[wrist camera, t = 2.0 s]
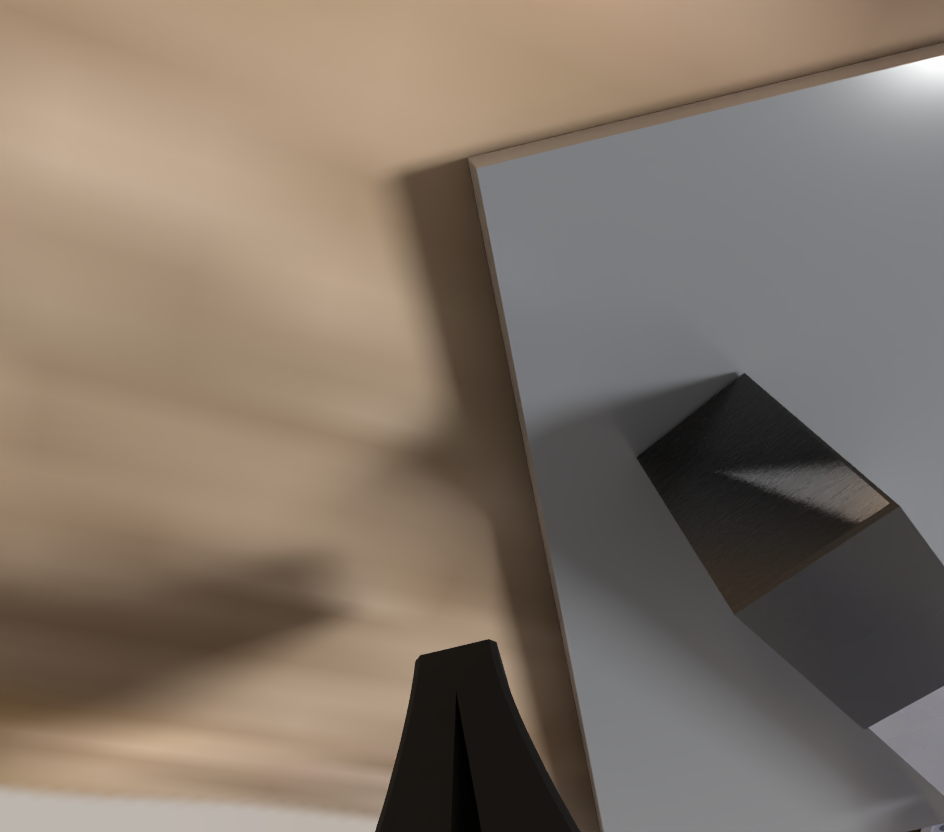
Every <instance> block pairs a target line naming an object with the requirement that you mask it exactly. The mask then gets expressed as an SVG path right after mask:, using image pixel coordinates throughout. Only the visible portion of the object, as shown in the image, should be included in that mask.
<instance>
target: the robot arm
mask: <svg viewBox="0 0 944 832" xmlns="http://www.w3.org/2000/svg"><path fill="white" fill-rule="evenodd" d="M375 832H580V830H579V829H578V827H577V825H576V824H575V822H574V820H573V818H572V816H571V815H570V813H569V811H568V809H567V808H566V806H565V804H564V802H563V800H562V799H561V797H560V795H559V793H558V791H557V790H556V788H555V786H554V784H553V782H552V780H551V778H550V776H549V774H548V773H547V771H546V769H545V767H544V765H543V763H542V761H541V759H540V756H539V754H538V752H537V750H536V748H535V746H534V744H533V742H532V740H531V738H530V736H529V734H528V732H527V730H526V728H525V725H524V723H523V721H522V719H521V716H520V714H519V712H518V709H517V707H516V704H515V702H514V699H513V697H512V695H511V692H510V688H509V685H508V681H507V678H506V674H505V671H504V667H503V664H502V660H501V657H500V653H499V650H498V646H497V643H496V642H494V641H492V640H490V639H488V640H484V641H479V642H475V643H471V644H467V645H462V646H458V647H454V648H450V649H446V650H441V651H437V652H433V653H429V654H424V655H420V656H419V658H418V659H417V660H416V662H415V669H414V677H413V683H412V689H411V695H410V700H409V705H408V710H407V715H406V719H405V724H404V728H403V732H402V737H401V741H400V745H399V749H398V753H397V757H396V761H395V764H394V768H393V772H392V776H391V780H390V783H389V787H388V791H387V795H386V798H385V802H384V805H383V808H382V812H381V815H380V818H379V821H378V824H377V827H376V831H375ZM920 832H944V823H943V824H939V825H935V826H930V827H926V828H921V831H920Z"/></svg>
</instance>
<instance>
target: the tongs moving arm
mask: <svg viewBox="0 0 944 832" xmlns="http://www.w3.org/2000/svg"><path fill="white" fill-rule="evenodd" d="M636 458H637V460H638V461H639V463H640V465H641V466H642V468H643V469H644V471H645V473H646V474H647V476H648V477H649V479H650V481H651V482H652V484H653V485H654V487H655V489H656V490H657V492H658V493H659V495H660V497H661V498H662V500H663V501H664V503H665V505H666V506H667V508H668V509H669V511H670V513H671V514H672V516H673V517H674V519H675V521H676V522H677V524H678V525H679V527H680V529H681V530H682V532H683V533H684V535H685V537H686V538H687V540H688V541H689V543H690V545H691V546H692V548H693V549H694V551H695V553H696V554H697V556H698V557H699V559H700V561H701V562H702V564H703V565H704V567H705V569H706V570H707V572H708V573H709V575H710V577H711V578H712V580H713V581H714V583H715V585H716V586H717V588H718V589H719V591H720V593H721V594H722V596H723V597H724V599H725V601H726V602H727V604H728V605H729V607H730V609H731V610H732V612H733V613H734V615H735V616H736V617H737V618H739V619H740V620H741V621H742V622H743V623H744V624H745V625H746V626H748V627H749V628H750V629H751V630H752V631H753V632H754V633H755V634H757V635H758V636H759V637H760V638H761V639H762V640H763V641H764V642H766V643H767V644H768V645H769V646H770V647H771V648H772V649H773V650H775V651H776V652H777V653H778V654H779V655H780V656H781V657H782V658H784V659H785V660H786V661H787V662H788V663H789V664H790V665H791V666H793V667H794V668H795V669H796V670H797V671H798V672H799V673H800V674H802V675H803V676H804V677H805V678H806V679H807V680H808V681H809V682H811V683H812V684H813V685H814V686H815V687H816V688H817V689H818V690H820V691H821V692H822V693H823V694H824V695H825V696H826V697H827V698H829V699H830V700H831V701H832V702H833V703H834V704H835V705H836V706H838V707H839V708H840V709H841V710H842V711H843V712H844V713H845V714H846V715H848V716H849V717H850V718H851V719H852V720H853V721H854V722H855V723H857V724H858V725H859V726H860V727H861V728H862V729H863V730H865V729H867V728H869V729H870V730H872V731H873V732H874V733H875V734H876V735H877V736H878V737H879V738H880V739H882V740H883V741H884V742H885V743H886V744H887V745H888V746H889V747H890V748H891V749H893V750H894V751H895V752H896V753H897V754H898V755H899V756H900V757H901V758H903V759H904V760H905V761H906V762H907V763H908V764H909V765H910V766H911V767H913V768H914V769H915V770H916V771H917V772H918V773H919V774H920V775H921V776H923V777H924V778H925V779H926V780H927V781H928V782H929V783H930V784H931V785H933V786H934V787H935V788H936V789H937V790H938V791H939V792H940V793H941V794H943V795H944V565H943V564H942V562H941V561H940V560H939V558H938V557H937V556H936V554H935V553H934V552H933V550H932V549H931V547H930V546H929V545H928V543H927V542H926V541H925V539H924V538H923V537H922V535H921V534H920V533H919V531H918V530H917V528H916V527H915V526H914V524H913V523H912V522H911V520H910V519H909V518H908V516H907V515H906V513H905V512H904V511H903V509H902V508H901V507H900V506H899V505H898V504H897V503H896V502H895V501H894V500H892V499H891V498H890V497H889V496H888V495H887V494H885V493H884V492H883V491H882V490H881V489H880V488H878V487H877V486H876V485H875V484H874V483H873V482H871V481H870V480H869V479H868V478H867V477H866V476H864V475H863V474H862V473H861V472H860V471H859V470H857V469H856V468H855V467H854V466H853V465H852V464H850V463H849V462H848V461H847V460H846V459H844V458H843V457H842V456H841V455H840V454H839V453H837V452H836V451H835V450H834V449H833V448H832V447H830V446H829V445H828V444H827V443H826V442H825V441H823V440H822V439H821V438H820V437H819V436H818V435H816V434H815V433H814V432H813V431H812V430H811V429H809V428H808V427H807V426H806V425H805V424H804V423H802V422H801V421H800V420H799V419H798V418H797V417H795V416H794V415H793V414H792V413H791V412H790V411H788V410H787V409H786V408H785V407H784V406H783V405H781V404H780V403H779V402H778V401H777V400H776V399H774V398H773V397H772V396H771V395H770V394H769V393H767V392H766V391H765V390H764V389H763V388H762V387H760V386H759V385H758V384H757V383H756V382H755V381H753V380H752V379H751V378H750V377H749V376H748V375H746V374H745V373H743V374H742V375H741V376H740V377H738V378H737V379H736V380H734V381H733V382H732V383H731V384H729V385H728V386H727V387H726V388H724V389H723V390H722V391H720V392H719V393H718V394H717V395H715V396H714V397H713V398H712V399H710V400H709V401H708V402H706V403H705V404H704V405H703V406H701V407H700V408H699V409H697V410H696V411H695V412H694V413H692V414H691V415H690V416H689V417H687V418H686V419H685V420H683V421H682V422H681V423H680V424H678V425H677V426H676V427H675V428H673V429H672V430H671V431H669V432H668V433H667V434H666V435H664V436H663V437H662V438H661V439H659V440H658V441H657V442H655V443H654V444H653V445H652V446H650V447H649V448H648V449H646V450H645V451H644V452H643V453H641V454H640V455H639V456H638V457H636Z"/></svg>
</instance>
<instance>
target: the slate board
mask: <svg viewBox="0 0 944 832" xmlns="http://www.w3.org/2000/svg"><path fill="white" fill-rule="evenodd" d="M468 163H469V168H470V173H471V178H472V183H473V189H474V194H475V199H476V204H477V209H478V214H479V219H480V224H481V229H482V234H483V239H484V244H485V249H486V254H487V259H488V265H489V270H490V275H491V280H492V285H493V290H494V295H495V300H496V305H497V310H498V315H499V320H500V325H501V330H502V335H503V340H504V346H505V351H506V356H507V361H508V366H509V371H510V376H511V381H512V386H513V391H514V396H515V401H516V406H517V411H518V416H519V422H520V427H521V432H522V437H523V442H524V447H525V452H526V457H527V462H528V467H529V472H530V477H531V482H532V487H533V492H534V498H535V503H536V508H537V513H538V518H539V523H540V528H541V533H542V538H543V543H544V548H545V553H546V558H547V563H548V568H549V573H550V579H551V584H552V589H553V594H554V599H555V604H556V609H557V614H558V619H559V624H560V629H561V634H562V639H563V644H564V649H565V655H566V660H567V665H568V670H569V675H570V680H571V685H572V690H573V695H574V700H575V705H576V710H577V715H578V720H579V725H580V730H581V736H582V741H583V746H584V751H585V756H586V761H587V766H588V771H589V776H590V781H591V786H592V791H593V796H594V801H595V806H596V812H597V817H598V822H599V827H600V832H908V831H913V830H917V829H921V828H926V827H930V826H935V825H939V824H943V823H944V795H943V794H941V793H940V792H939V791H938V790H937V789H936V788H935V787H934V786H933V785H931V784H930V783H929V782H928V781H927V780H926V779H925V778H924V777H923V776H921V775H920V774H919V773H918V772H917V771H916V770H915V769H914V768H913V767H911V766H910V765H909V764H908V763H907V762H906V761H905V760H904V759H903V758H901V757H900V756H899V755H898V754H897V753H896V752H895V751H894V750H893V749H891V748H890V747H889V746H888V745H887V744H886V743H885V742H884V741H883V740H882V739H880V738H879V737H878V736H877V735H876V734H875V733H874V732H873V731H872V730H870V729H869V728H867V729H865V730H863V729H862V728H861V727H860V726H859V725H858V724H857V723H855V722H854V721H853V720H852V719H851V718H850V717H849V716H848V715H846V714H845V713H844V712H843V711H842V710H841V709H840V708H839V707H838V706H836V705H835V704H834V703H833V702H832V701H831V700H830V699H829V698H827V697H826V696H825V695H824V694H823V693H822V692H821V691H820V690H818V689H817V688H816V687H815V686H814V685H813V684H812V683H811V682H809V681H808V680H807V679H806V678H805V677H804V676H803V675H802V674H800V673H799V672H798V671H797V670H796V669H795V668H794V667H793V666H791V665H790V664H789V663H788V662H787V661H786V660H785V659H784V658H782V657H781V656H780V655H779V654H778V653H777V652H776V651H775V650H773V649H772V648H771V647H770V646H769V645H768V644H767V643H766V642H764V641H763V640H762V639H761V638H760V637H759V636H758V635H757V634H755V633H754V632H753V631H752V630H751V629H750V628H749V627H748V626H746V625H745V624H744V623H743V622H742V621H741V620H740V619H739V618H737V617H736V616H735V615H734V613H733V612H732V610H731V609H730V607H729V605H728V604H727V602H726V601H725V599H724V597H723V596H722V594H721V593H720V591H719V589H718V588H717V586H716V585H715V583H714V581H713V580H712V578H711V577H710V575H709V573H708V572H707V570H706V569H705V567H704V565H703V564H702V562H701V561H700V559H699V557H698V556H697V554H696V553H695V551H694V549H693V548H692V546H691V545H690V543H689V541H688V540H687V538H686V537H685V535H684V533H683V532H682V530H681V529H680V527H679V525H678V524H677V522H676V521H675V519H674V517H673V516H672V514H671V513H670V511H669V509H668V508H667V506H666V505H665V503H664V501H663V500H662V498H661V497H660V495H659V493H658V492H657V490H656V489H655V487H654V485H653V484H652V482H651V481H650V479H649V477H648V476H647V474H646V473H645V471H644V469H643V468H642V466H641V465H640V463H639V461H638V460H637V458H636V457H638V456H639V455H640V454H641V453H643V452H644V451H645V450H646V449H648V448H649V447H650V446H652V445H653V444H654V443H655V442H657V441H658V440H659V439H661V438H662V437H663V436H664V435H666V434H667V433H668V432H669V431H671V430H672V429H673V428H675V427H676V426H677V425H678V424H680V423H681V422H682V421H683V420H685V419H686V418H687V417H689V416H690V415H691V414H692V413H694V412H695V411H696V410H697V409H699V408H700V407H701V406H703V405H704V404H705V403H706V402H708V401H709V400H710V399H712V398H713V397H714V396H715V395H717V394H718V393H719V392H720V391H722V390H723V389H724V388H726V387H727V386H728V385H729V384H731V383H732V382H733V381H734V380H736V379H737V378H738V377H740V376H741V375H742V374H743V373H745V374H746V375H748V376H749V377H750V378H751V379H752V380H753V381H755V382H756V383H757V384H758V385H759V386H760V387H762V388H763V389H764V390H765V391H766V392H767V393H769V394H770V395H771V396H772V397H773V398H774V399H776V400H777V401H778V402H779V403H780V404H781V405H783V406H784V407H785V408H786V409H787V410H788V411H790V412H791V413H792V414H793V415H794V416H795V417H797V418H798V419H799V420H800V421H801V422H802V423H804V424H805V425H806V426H807V427H808V428H809V429H811V430H812V431H813V432H814V433H815V434H816V435H818V436H819V437H820V438H821V439H822V440H823V441H825V442H826V443H827V444H828V445H829V446H830V447H832V448H833V449H834V450H835V451H836V452H837V453H839V454H840V455H841V456H842V457H843V458H844V459H846V460H847V461H848V462H849V463H850V464H852V465H853V466H854V467H855V468H856V469H857V470H859V471H860V472H861V473H862V474H863V475H864V476H866V477H867V478H868V479H869V480H870V481H871V482H873V483H874V484H875V485H876V486H877V487H878V488H880V489H881V490H882V491H883V492H884V493H885V494H887V495H888V496H889V497H890V498H891V499H892V500H894V501H895V502H896V503H897V504H898V505H899V506H900V507H901V508H902V509H903V511H904V512H905V513H906V515H907V516H908V518H909V519H910V520H911V522H912V523H913V524H914V526H915V527H916V528H917V530H918V531H919V533H920V534H921V535H922V537H923V538H924V539H925V541H926V542H927V543H928V545H929V546H930V547H931V549H932V550H933V552H934V553H935V554H936V556H937V557H938V558H939V560H940V561H941V562H942V564H943V565H944V42H943V43H939V44H935V45H931V46H927V47H922V48H918V49H914V50H910V51H906V52H902V53H898V54H894V55H889V56H885V57H881V58H877V59H873V60H869V61H865V62H861V63H856V64H852V65H848V66H844V67H840V68H836V69H832V70H828V71H823V72H819V73H815V74H811V75H807V76H803V77H799V78H795V79H790V80H786V81H782V82H778V83H774V84H770V85H766V86H762V87H757V88H753V89H749V90H745V91H741V92H737V93H733V94H729V95H724V96H720V97H716V98H712V99H708V100H704V101H700V102H696V103H691V104H687V105H683V106H679V107H675V108H671V109H667V110H663V111H658V112H654V113H650V114H646V115H642V116H638V117H634V118H630V119H626V120H621V121H617V122H613V123H609V124H605V125H601V126H597V127H593V128H588V129H584V130H580V131H576V132H572V133H568V134H564V135H560V136H555V137H551V138H547V139H543V140H539V141H535V142H531V143H527V144H522V145H518V146H514V147H510V148H506V149H502V150H498V151H494V152H489V153H485V154H481V155H477V156H473V157H469V158H468Z"/></svg>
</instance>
